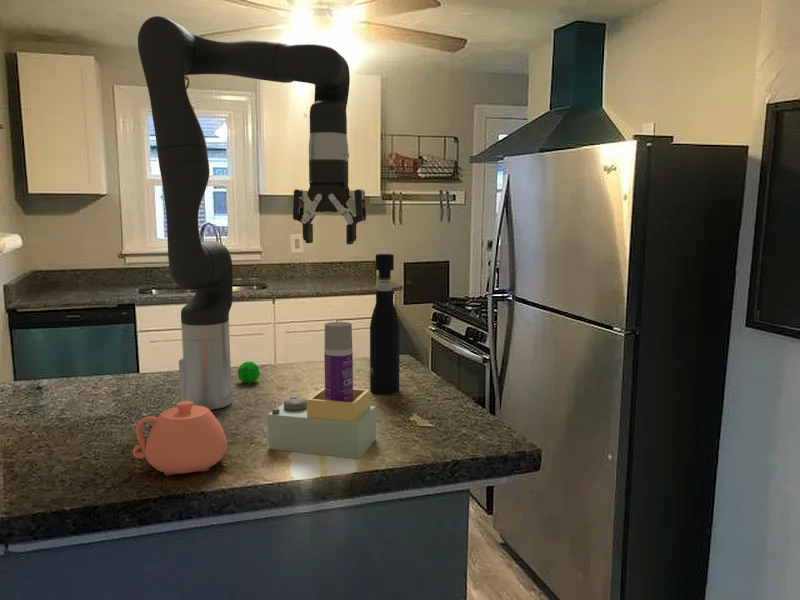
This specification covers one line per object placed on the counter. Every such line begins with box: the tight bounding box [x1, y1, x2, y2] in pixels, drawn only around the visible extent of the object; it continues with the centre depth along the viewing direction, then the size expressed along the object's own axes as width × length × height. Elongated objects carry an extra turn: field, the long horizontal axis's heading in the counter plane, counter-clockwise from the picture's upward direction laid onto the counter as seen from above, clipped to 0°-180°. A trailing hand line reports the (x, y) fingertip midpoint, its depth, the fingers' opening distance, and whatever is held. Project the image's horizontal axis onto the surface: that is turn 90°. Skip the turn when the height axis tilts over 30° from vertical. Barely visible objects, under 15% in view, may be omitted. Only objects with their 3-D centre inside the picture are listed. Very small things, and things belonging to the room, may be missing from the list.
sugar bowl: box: [132, 400, 228, 476], centre depth 101 cm, size 12×14×10 cm
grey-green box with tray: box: [267, 386, 377, 459], centre depth 111 cm, size 16×9×9 cm, turn 75°
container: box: [323, 321, 354, 402], centre depth 109 cm, size 5×5×15 cm
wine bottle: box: [369, 253, 400, 396], centre depth 141 cm, size 6×6×30 cm
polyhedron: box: [237, 361, 261, 384], centre depth 149 cm, size 5×5×5 cm
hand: (329, 243), depth 127 cm, fingers open, 8 cm apart
